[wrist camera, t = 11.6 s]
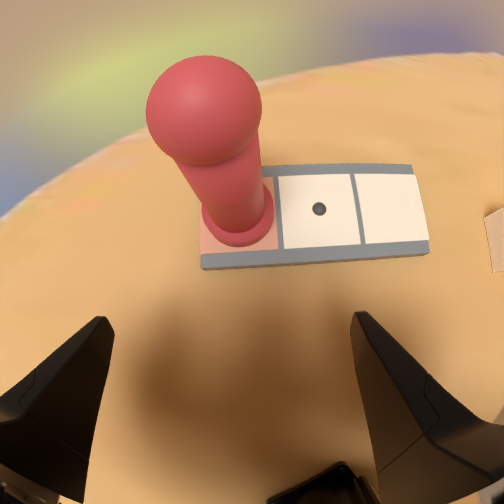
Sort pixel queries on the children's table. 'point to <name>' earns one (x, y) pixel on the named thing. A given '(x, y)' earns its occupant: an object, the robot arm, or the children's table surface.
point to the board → (331, 218)
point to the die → (496, 238)
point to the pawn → (215, 143)
